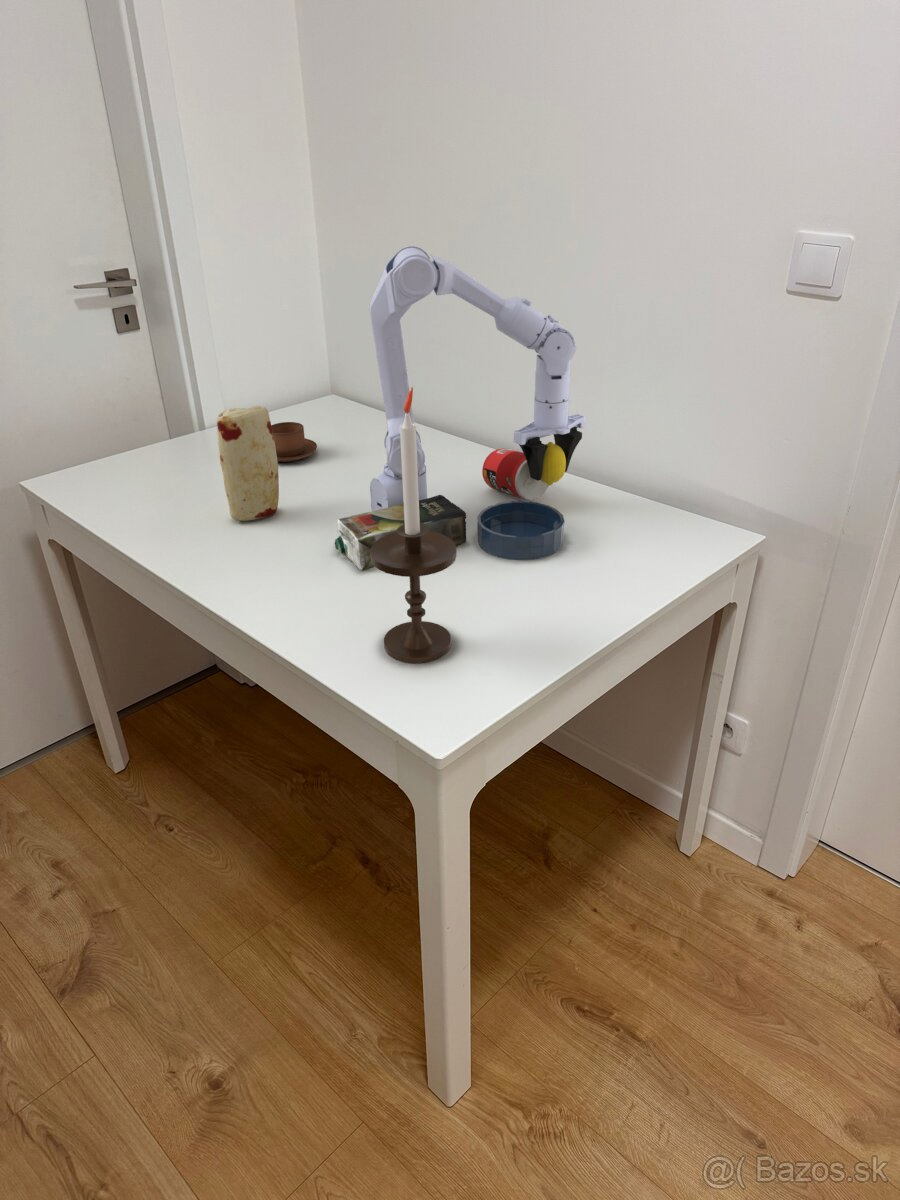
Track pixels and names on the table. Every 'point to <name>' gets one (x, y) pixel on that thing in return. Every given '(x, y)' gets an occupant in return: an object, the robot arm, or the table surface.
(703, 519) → the table surface
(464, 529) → the juice carton
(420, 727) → the table surface
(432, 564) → the candlestick
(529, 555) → the bowl
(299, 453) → the cup and saucer
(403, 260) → the robot arm
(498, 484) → the canned food
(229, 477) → the food model
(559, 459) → the lemon
